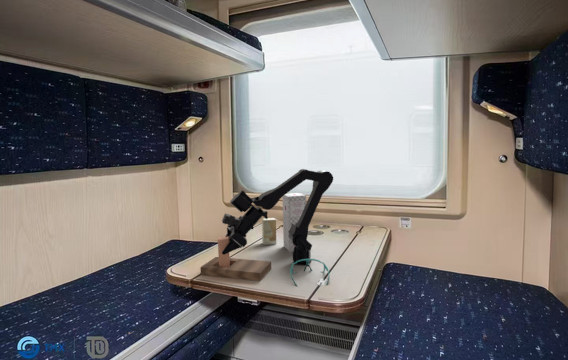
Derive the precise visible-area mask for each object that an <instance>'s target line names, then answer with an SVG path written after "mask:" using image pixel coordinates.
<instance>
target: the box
mask: <svg viewBox="0 0 568 360" xmlns="http://www.w3.org/2000/svg"><path fill="white" fill-rule="evenodd" d="M281 198H282V229H283V231H282V233H283V247H284V248H285V249H286V250H287V251H288V252H290V253H291V252H293V251H294V247H295V245H294V244H293V243H292V242H291V241H290V239H289V232H288V231H289V230H290V228H291V225H292V223H293V224H296V223H297V222H298V221H299V219H300V217H301V214H302V212H303V210H304V208H305V205H306V203H307V195H306V194H304V193H301V192H294V193H293V192H292V193H286V194H285V195H284V196H282V197H281Z"/></svg>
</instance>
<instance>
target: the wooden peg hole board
mask: <svg viewBox="0 0 568 360" xmlns="http://www.w3.org/2000/svg"><path fill="white" fill-rule="evenodd" d="M229 258H230V267H221V266H219V256H215V257H214V258H212V259H210V260H209V261H208V262H205V264H203V265H201V266H200V267H199V268H200V269H199V270H200V276H208V277H216V278H217V277H219V278H228V279H230V278H231V279H235V280H237V279H238V280H246V281H257V282H261V281H262V280H263V279H264V278H265V277H266V275H267V274H268V273H269V272H270V271H271V270H272V261H270V260H269V261H268V260H256V259H245V258H244V259H243V258H234V257H233V258H231V257H229Z"/></svg>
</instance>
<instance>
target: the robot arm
mask: <svg viewBox="0 0 568 360" xmlns="http://www.w3.org/2000/svg"><path fill="white" fill-rule="evenodd" d="M306 180H308V181H312V190H311V193H310V194H309V196H308V199H307V200H306V205H305V208H304V210H303V212H302V214H301V217H300V219H299V221H298V222H297V223H296V224H293V223H292V225H291V228H290V230H289V231H288V232H289V239H290V241H291V242H292V243H293V244H294V245H295V247H294V251H292V264H293V263H295V262H296V261H298V260H302V259H312V257H311V250H312V247H313V244H311V242H309V241H308V236H309V226H310V224H311V221H312V219H313V217H314V215H315V213H316V210H317V208H318V206H319V204H320V202H321V199H322V197H323V195H324V194H325V193H326V192H327V191H328V189H329V188H330V187H331V185H332V184H333V182H334V176H333V174H332V173H331V172H330V171H327V170H324V169H323V170H318V171H313V170H308V169H305V168H301V169H300V170H298V171H297V172H296V173H294V174H293V175H292V176H290V177H289V178H288V179H286V180H285V181H283V182H282V183H281V184H279V185H278V186H276V187H275V188H272V189H269V190H267V191H264V192H262V193H261V194H260V195H258V196H254V197H250V196H249V195H248V194H247V193H246V192H245V191H244V190H243V189H241V190H240V191H239V192H238V193H236V194H235V195H234V196H233V197H232V198H231V199H230V201H229V204H231V205H232V207H234V208H235V209H236V210H238V211H239V212H240V213H242V212H244V214H243V215H240V216H239V217H236V216H234V215H232V214H228V213H224V215H223V217H222V220H221V222H222V224H224V225H227V227H226V235H224V237H228V236H229V242H228V244H227V245H226V247H225V248H224V250H223V252H222V254H223V255H225V254H227V253H229V254H230V253H231V252H234V251H236V250H238V249H242V248H244V247H246V245H247V244H248V240H247V235H248V233H249V232H250V231H251V230H253V229H254V228H255V226H256V224H257V223H258V222H259V221H260V219H262V217H263V218H266V219H268V218H269V217H268V211H269V210H271V209H273V208H274V207H276V205H277V204H278V202H279V201H280V200H281V199H282V198H283V197H282V196H284V195H285V194H289V192H290V191H292V190H293V189H294V188H296V187H298V186H299V185H300V184H301V183H303V182H304V181H306ZM312 261H313V260H309V265H310V264H311V262H312ZM294 265H299V266H300V265H301V266H306V265H308V261H306V260H305V261H299V262H297V263H295V264H294Z"/></svg>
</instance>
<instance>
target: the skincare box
mask: <svg viewBox="0 0 568 360" xmlns="http://www.w3.org/2000/svg"><path fill="white" fill-rule="evenodd" d="M261 220H262V221H261V227H262V229H261V230H262V231H261V232H262V235H261V236H262V237H261V238H262V241H261V242H262V244H263V245H265V246H266V245H267V246H268V245H269V246H270V245H276V244H277V219H276V218H275V217H268V219H266V218H265V217H263V218H261Z"/></svg>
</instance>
